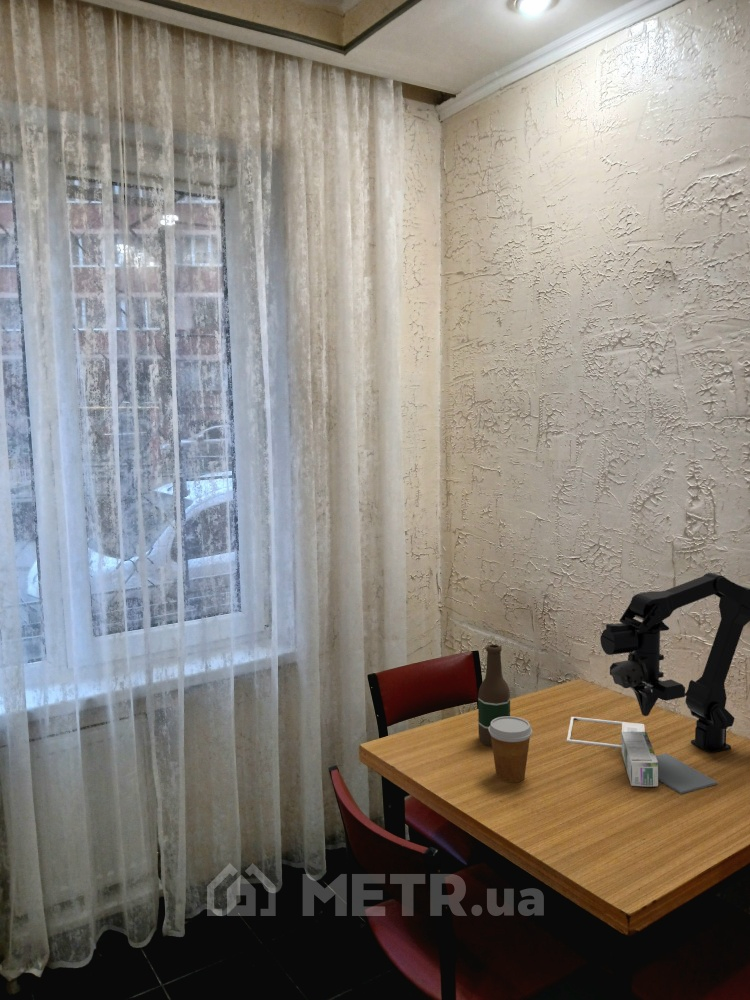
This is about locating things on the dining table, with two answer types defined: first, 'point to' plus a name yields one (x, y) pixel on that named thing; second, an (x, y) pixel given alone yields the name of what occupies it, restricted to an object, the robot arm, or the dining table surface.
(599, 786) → the dining table surface
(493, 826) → the dining table surface
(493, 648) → the beer bottle
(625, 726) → the photo frame
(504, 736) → the disposable coffee cup
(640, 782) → the syrup box
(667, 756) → the mat
